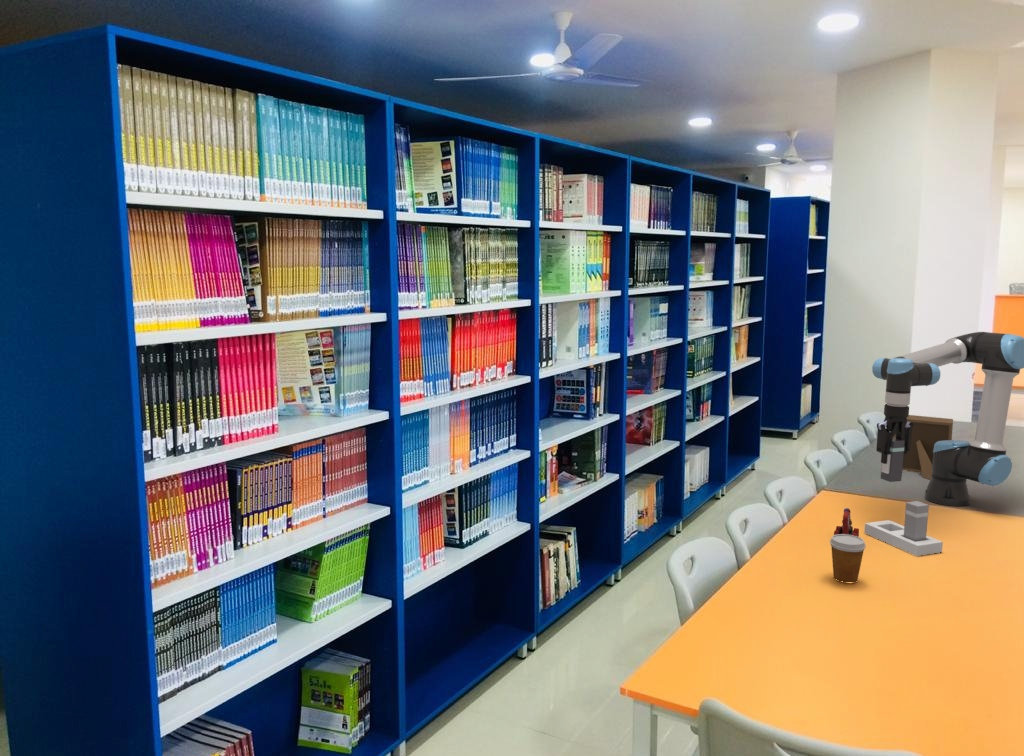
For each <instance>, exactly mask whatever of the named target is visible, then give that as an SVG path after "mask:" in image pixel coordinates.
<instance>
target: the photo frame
mask: <svg viewBox="0 0 1024 756" xmlns="http://www.w3.org/2000/svg"><path fill="white" fill-rule="evenodd" d="M907 421H908V422H912V423H914V426H913V428H912V435H911V446H910V451H907V454H904V461H903V466H902V471H903V470H907V471H906V472H911V471H913V472H912V473H919V472H920V473H921V476H922V478H923V479H926V480H929V481H930V480H931V476H932V461H933V450H934V445H935V443H936V442H938V441H943V440H953V428H954V425H953V424H954V419H953V418H947V417H936V416H935V417H934V416H926V415H925V416H922V415H916V414H909V416H908V417H907ZM893 438H896V434H895V435H894V436H893ZM906 447H907V446H906Z"/></svg>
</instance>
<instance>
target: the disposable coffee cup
mask: <svg viewBox="0 0 1024 756" xmlns="http://www.w3.org/2000/svg"><path fill="white" fill-rule="evenodd" d="M829 543H830V546H831V560H832V571H833V575H832V576H833V579H834V578H835V579H837V580H839V581H843V582H856V581H857V582H858V579H859V576H860V575H859V574H860V570H861V564H862V561H863V556H864V551H865V549H866V548H867V547H866V546H867V544H866V542H865V539H863V538H862V537H857V536H853V535H847V534H837V535H834V534H833V535H832V536H831V539H830V540H829ZM835 579H834V580H835ZM837 580H836V581H837ZM839 581H838V582H839ZM857 582H856V583H857Z"/></svg>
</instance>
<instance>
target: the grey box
mask: <svg viewBox="0 0 1024 756" xmlns="http://www.w3.org/2000/svg"><path fill="white" fill-rule="evenodd" d="M904 442H905V441H904V440H900V439H896V438H893V439H892V441H891V447H890V450H889V454H890V455H891V457H890V469H889V474H886V473H884V472H881V470H882V466H881V468H880V479H881V480H884V481H886V482H889V483H894V482H896V483H897V482H902V477H903V470H902V466H903V454H904Z"/></svg>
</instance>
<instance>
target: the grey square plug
mask: <svg viewBox="0 0 1024 756" xmlns="http://www.w3.org/2000/svg"><path fill="white" fill-rule="evenodd" d="M929 508H930V506H929V504H927V503H924V502H921V501H919V500H915V501H913V500H912V501H908V502H907V501H906V502H905V511H904V524H903V526H904V537H905V538H907V539H910V540H912V541H914V542H917V541H923V540H926V535H927V532H928V518H929ZM927 536H928V535H927Z"/></svg>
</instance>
